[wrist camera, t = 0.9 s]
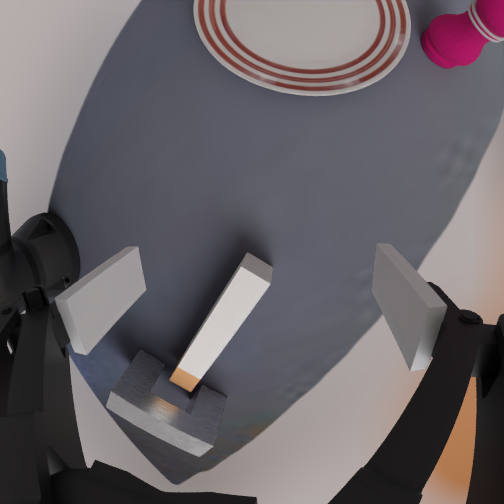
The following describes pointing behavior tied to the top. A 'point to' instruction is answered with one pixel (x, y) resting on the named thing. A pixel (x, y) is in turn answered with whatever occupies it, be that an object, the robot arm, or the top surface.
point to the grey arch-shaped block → (166, 408)
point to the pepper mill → (464, 33)
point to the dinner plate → (306, 41)
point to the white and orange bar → (223, 320)
